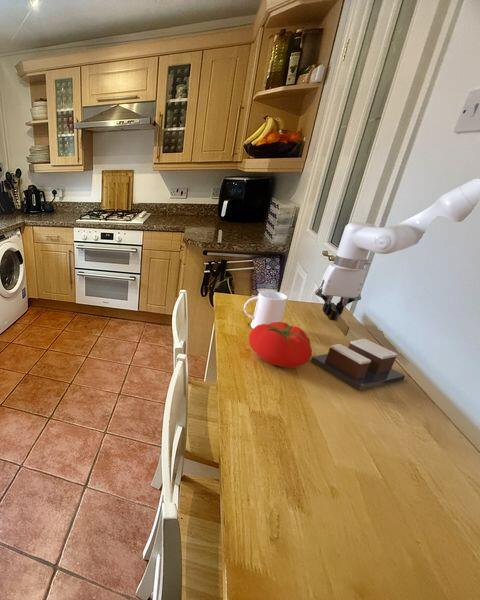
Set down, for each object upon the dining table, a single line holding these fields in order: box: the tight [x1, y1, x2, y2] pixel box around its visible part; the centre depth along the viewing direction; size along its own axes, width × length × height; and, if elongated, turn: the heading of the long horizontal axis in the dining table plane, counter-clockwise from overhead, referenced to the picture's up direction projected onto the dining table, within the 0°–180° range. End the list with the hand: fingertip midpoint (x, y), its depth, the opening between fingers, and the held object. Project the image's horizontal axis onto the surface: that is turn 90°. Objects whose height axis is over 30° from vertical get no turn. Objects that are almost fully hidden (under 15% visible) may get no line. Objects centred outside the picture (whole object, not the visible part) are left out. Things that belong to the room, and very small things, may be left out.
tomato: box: [248, 321, 313, 369], centre depth 88 cm, size 14×16×10 cm
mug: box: [243, 290, 289, 330], centre depth 105 cm, size 12×8×12 cm
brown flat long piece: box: [325, 302, 351, 337], centre depth 103 cm, size 19×2×4 cm, turn 159°
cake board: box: [310, 353, 406, 391], centre depth 84 cm, size 15×13×2 cm
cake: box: [347, 338, 399, 374], centre depth 84 cm, size 5×8×5 cm, turn 15°
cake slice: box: [325, 343, 371, 379], centre depth 82 cm, size 3×8×5 cm, turn 14°
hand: (331, 313), depth 108 cm, fingers closed on brown flat long piece, 2 cm apart
